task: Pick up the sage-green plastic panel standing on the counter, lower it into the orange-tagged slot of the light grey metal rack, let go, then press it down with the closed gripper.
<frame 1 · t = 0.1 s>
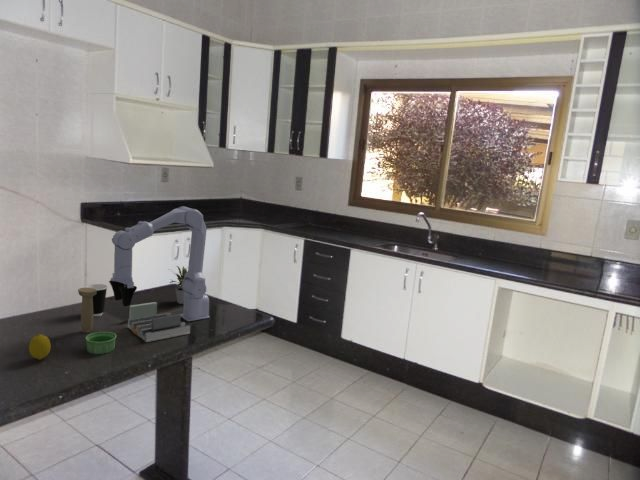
hand: (122, 302, 166), 10 cm above the table, tool pointing down, fingers open, 7 cm apart
rack: (158, 330, 170), on the table
ramekin: (100, 350, 150), on the table
lemon: (40, 360, 139), on the table
handle: (87, 332, 163), on the table
panel: (143, 319, 180), on the table
house plant: (180, 302, 204), on the table
dixie cup: (95, 314, 180), on the table
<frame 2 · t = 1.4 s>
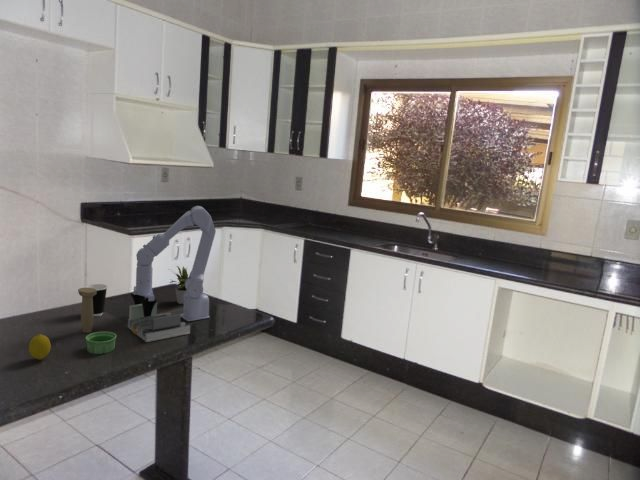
hand: (143, 314, 179), 2 cm above the table, tool pointing down, fingers open, 7 cm apart
nothing on the table moved.
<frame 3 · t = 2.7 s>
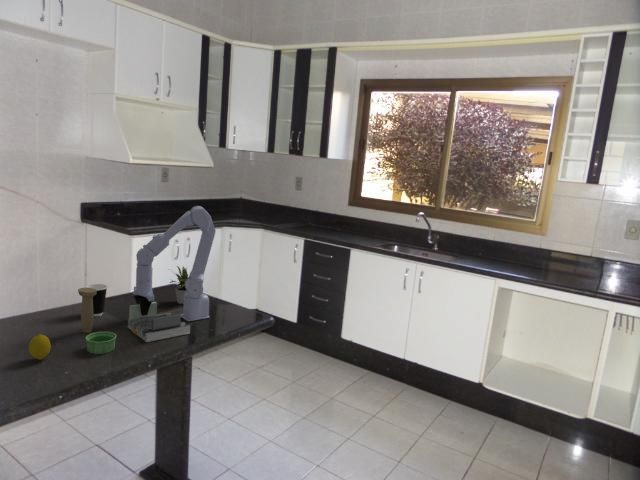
hand: (143, 314, 179), 2 cm above the table, tool pointing down, fingers closed on panel, 2 cm apart
panel: (143, 319, 180), on the table, touching gripper
everything else where it was.
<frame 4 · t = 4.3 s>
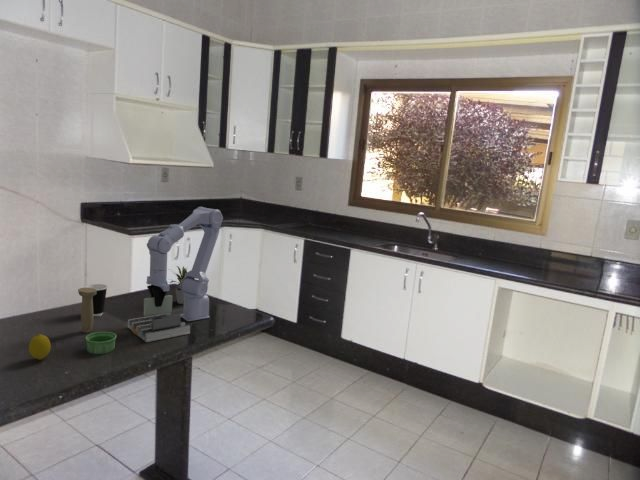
hand: (157, 305, 170), 9 cm above the table, tool pointing down, fingers closed on panel
panel: (157, 313, 170), point 6 cm above the table, touching gripper
everything else where it was.
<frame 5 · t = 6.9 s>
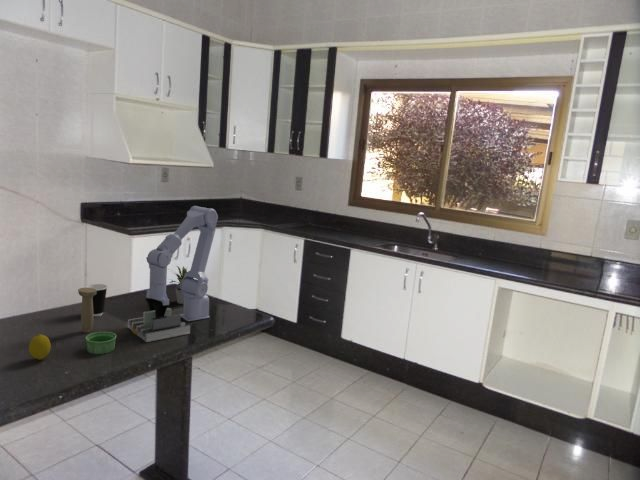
hand: (156, 318, 170), 4 cm above the table, tool pointing down, fingers open, 4 cm apart
panel: (157, 326, 171), point 1 cm above the table, touching rack
everything else where it was.
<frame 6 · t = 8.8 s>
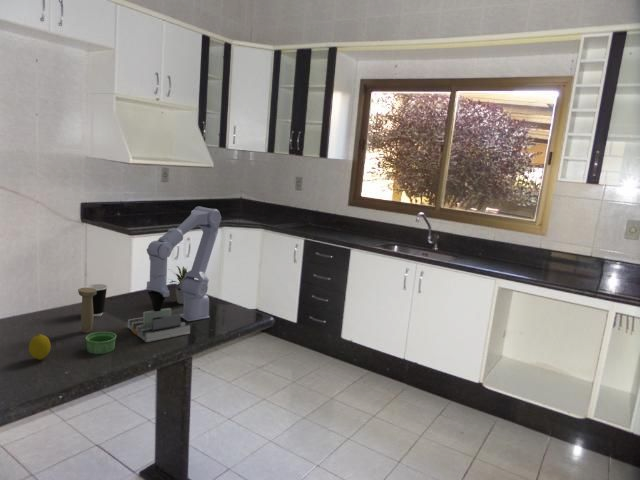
hand: (157, 310, 170), 7 cm above the table, tool pointing down, fingers closed, pressing on panel
panel: (157, 326, 171), point 1 cm above the table, touching gripper, rack
everything else where it was.
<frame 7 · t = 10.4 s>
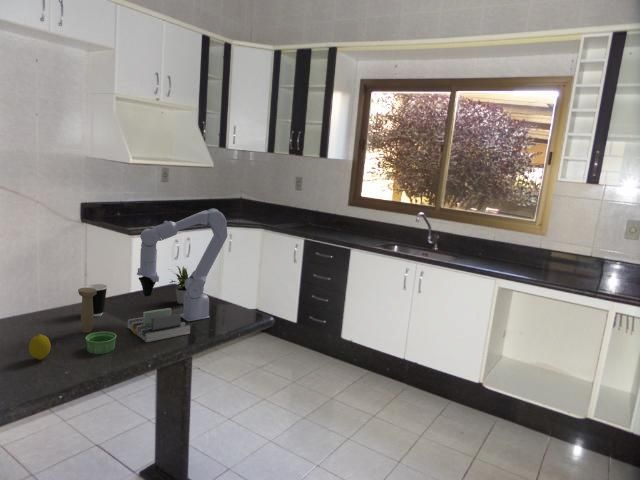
hand: (147, 295, 178), 9 cm above the table, tool pointing down, fingers closed
panel: (157, 326, 171), point 1 cm above the table, touching rack
everything else where it was.
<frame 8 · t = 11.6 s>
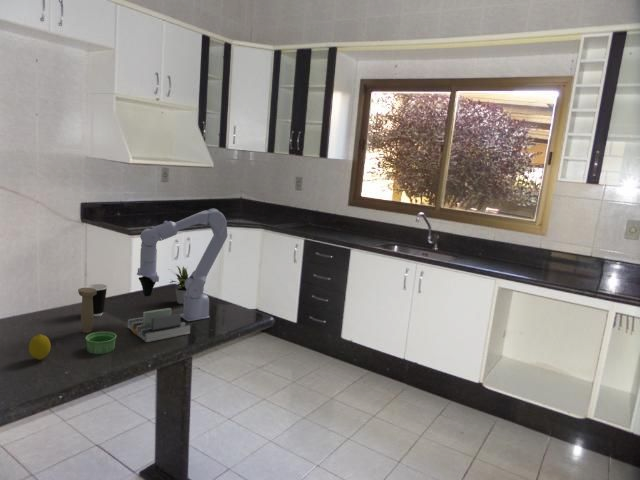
hand: (147, 295, 178), 9 cm above the table, tool pointing down, fingers closed
nothing on the table moved.
at the end: panel 0.2 cm from the target spot on the rack, point 1.0 cm above the rack's base; panel tilted 0°; the gripper is holding nothing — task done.
